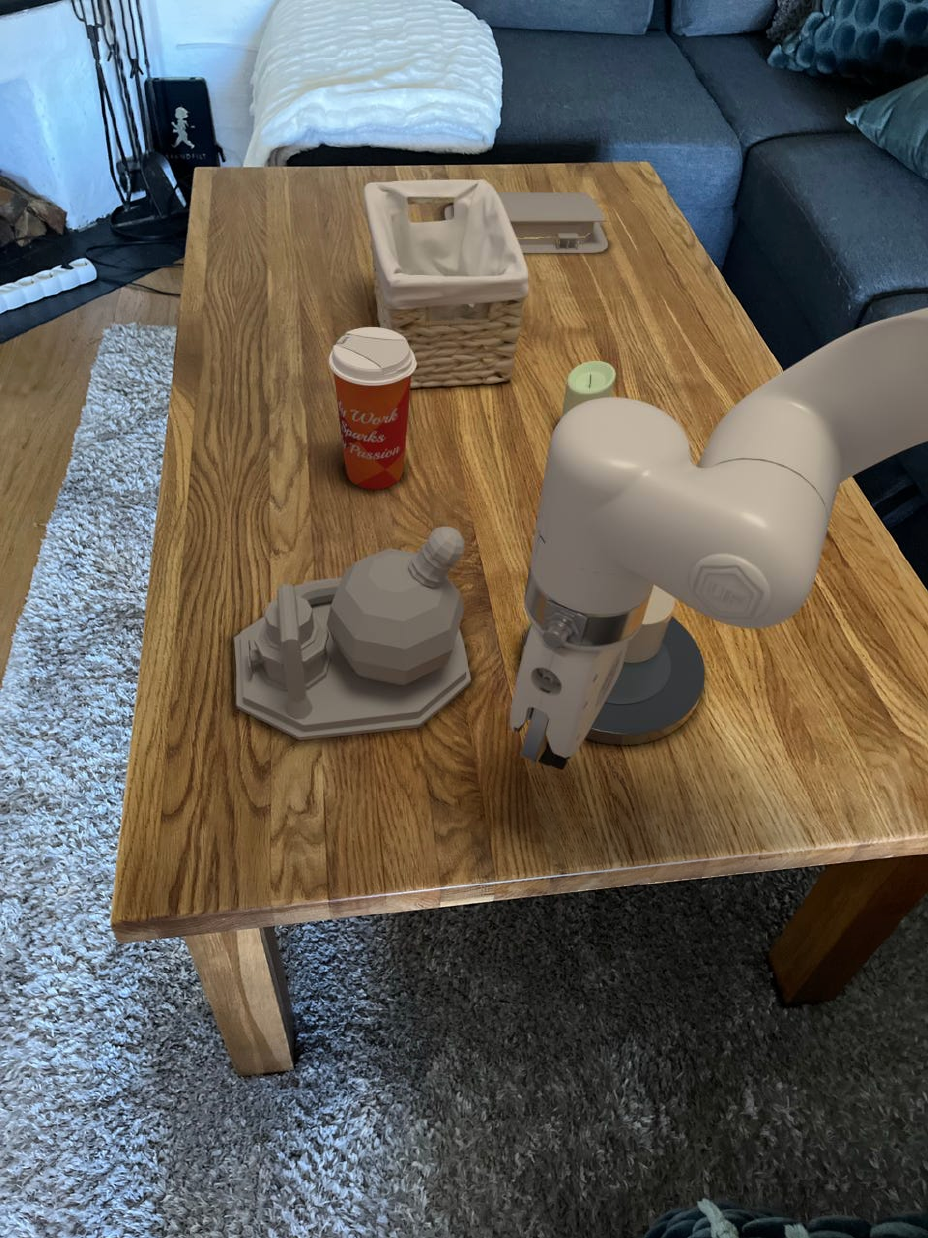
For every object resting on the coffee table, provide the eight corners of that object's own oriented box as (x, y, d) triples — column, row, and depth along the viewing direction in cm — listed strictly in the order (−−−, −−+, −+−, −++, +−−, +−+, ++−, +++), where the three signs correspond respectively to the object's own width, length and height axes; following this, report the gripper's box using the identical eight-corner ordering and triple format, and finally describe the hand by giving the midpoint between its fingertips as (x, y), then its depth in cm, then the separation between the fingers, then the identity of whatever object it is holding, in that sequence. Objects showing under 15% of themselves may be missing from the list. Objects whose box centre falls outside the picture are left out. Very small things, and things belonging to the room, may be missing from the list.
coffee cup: (321, 483, 97) (312, 358, 86) (357, 439, 103) (352, 315, 91) (395, 506, 96) (394, 381, 84) (427, 460, 101) (431, 336, 90)
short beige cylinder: (672, 626, 85) (685, 586, 81) (647, 674, 81) (659, 635, 77) (607, 599, 86) (617, 559, 82) (579, 644, 82) (588, 605, 79)
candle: (572, 451, 103) (584, 388, 97) (551, 425, 106) (560, 362, 100) (611, 441, 105) (624, 378, 99) (588, 416, 108) (600, 353, 102)
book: (612, 252, 134) (617, 226, 131) (453, 253, 131) (454, 226, 128) (590, 203, 144) (594, 177, 141) (442, 203, 141) (443, 177, 138)
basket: (521, 391, 110) (535, 273, 99) (384, 399, 108) (383, 279, 97) (484, 286, 126) (492, 175, 115) (363, 291, 123) (360, 178, 112)
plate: (724, 646, 86) (729, 634, 84) (663, 776, 76) (668, 764, 75) (565, 580, 90) (568, 568, 89) (489, 695, 80) (490, 683, 79)
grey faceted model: (449, 587, 89) (457, 459, 77) (481, 719, 79) (496, 595, 67) (233, 609, 85) (208, 478, 74) (238, 749, 75) (210, 623, 64)
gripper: (595, 700, 52) (551, 855, 66) (685, 541, 61) (630, 706, 75) (476, 645, 54) (458, 807, 68) (580, 499, 63) (545, 668, 77)
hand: (548, 754), depth 71 cm, fingers closed
